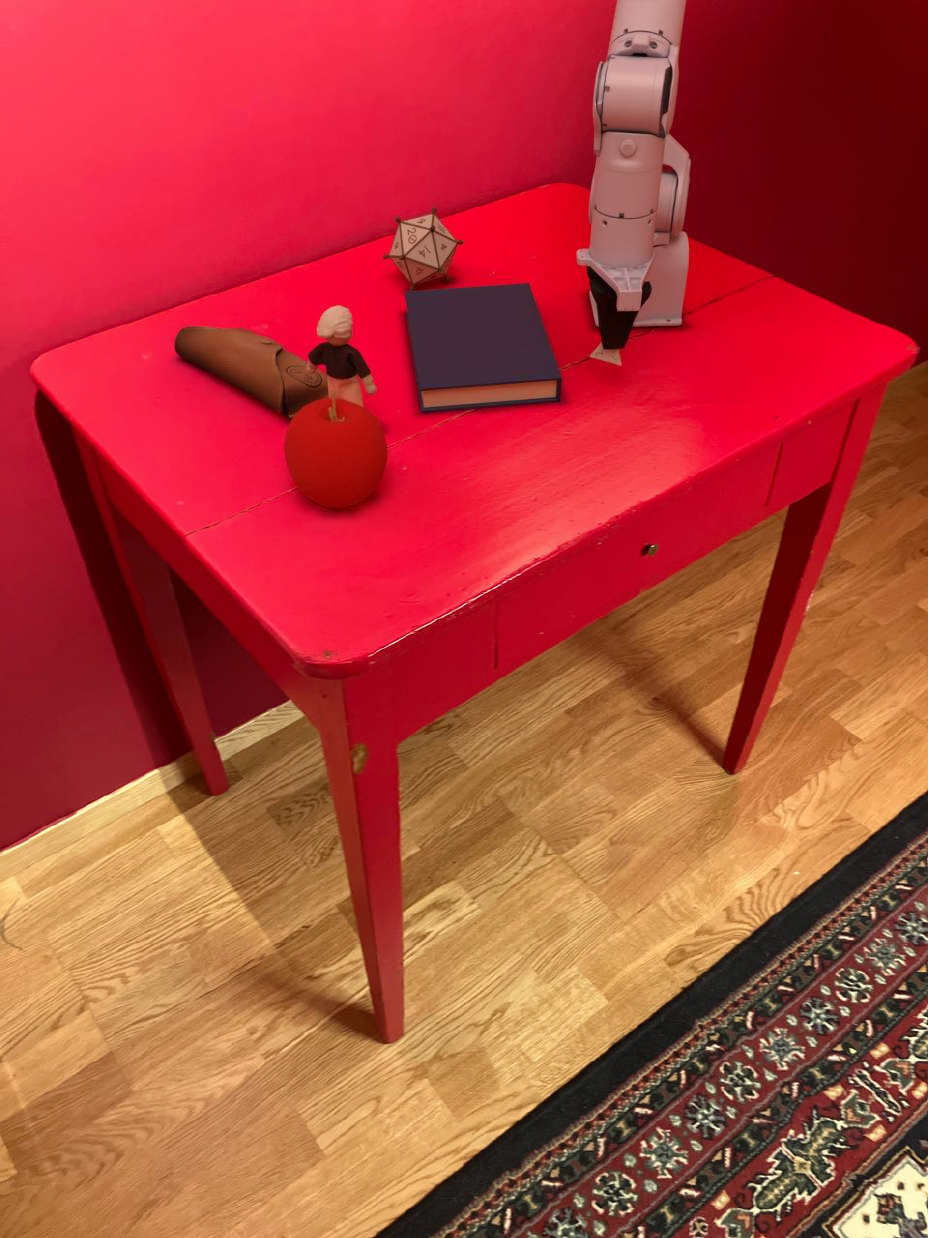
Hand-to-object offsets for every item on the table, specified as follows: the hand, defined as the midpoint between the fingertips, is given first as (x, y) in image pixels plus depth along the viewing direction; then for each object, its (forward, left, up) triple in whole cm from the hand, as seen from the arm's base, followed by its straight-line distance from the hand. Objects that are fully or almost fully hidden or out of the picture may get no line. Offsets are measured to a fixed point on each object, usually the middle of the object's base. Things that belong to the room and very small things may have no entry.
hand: (612, 342), depth 100 cm
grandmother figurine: (+26, +6, -5) cm, 27 cm away
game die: (+19, -24, -5) cm, 31 cm away
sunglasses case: (+36, -4, -5) cm, 37 cm away
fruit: (+26, +16, -5) cm, 31 cm away
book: (+13, -7, -5) cm, 16 cm away
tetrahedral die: (0, 0, -2) cm, 2 cm away
